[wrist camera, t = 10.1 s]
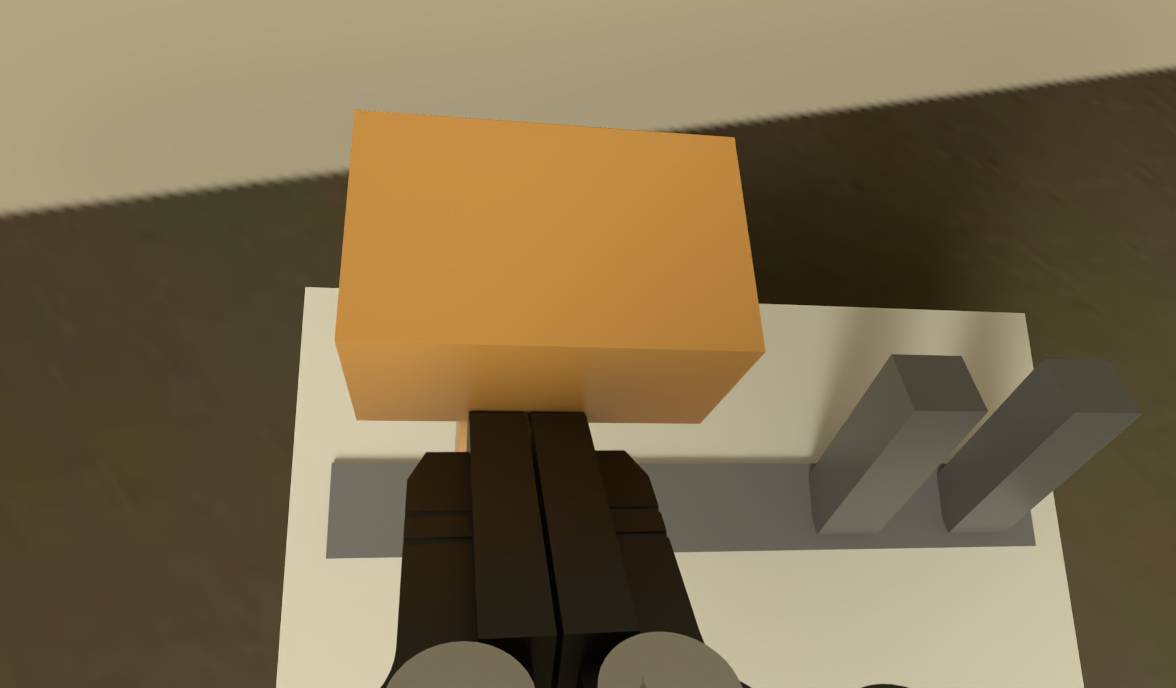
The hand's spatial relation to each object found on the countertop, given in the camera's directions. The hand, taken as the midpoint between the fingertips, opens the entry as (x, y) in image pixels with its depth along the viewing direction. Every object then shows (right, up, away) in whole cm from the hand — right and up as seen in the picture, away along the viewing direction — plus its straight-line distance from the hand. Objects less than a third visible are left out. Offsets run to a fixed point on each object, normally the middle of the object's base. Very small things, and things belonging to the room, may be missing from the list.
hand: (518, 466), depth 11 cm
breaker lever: (-2, -3, +10) cm, 11 cm away
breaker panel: (+3, -4, +18) cm, 18 cm away
